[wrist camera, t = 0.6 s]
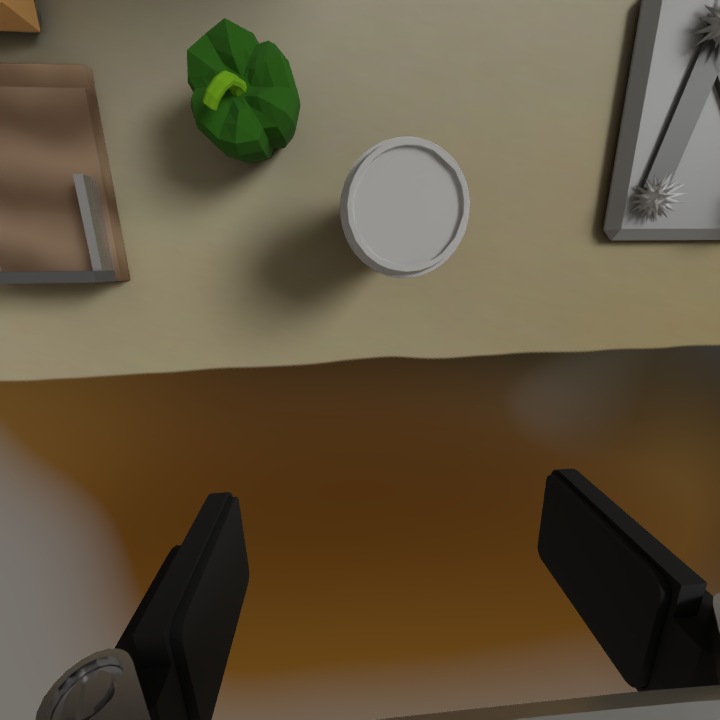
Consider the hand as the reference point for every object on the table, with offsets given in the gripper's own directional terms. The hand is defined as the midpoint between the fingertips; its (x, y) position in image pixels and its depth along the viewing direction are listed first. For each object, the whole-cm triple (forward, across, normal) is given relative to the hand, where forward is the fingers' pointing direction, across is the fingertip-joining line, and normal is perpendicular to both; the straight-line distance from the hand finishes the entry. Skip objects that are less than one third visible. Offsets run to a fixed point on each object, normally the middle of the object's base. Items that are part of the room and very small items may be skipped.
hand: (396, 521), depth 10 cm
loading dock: (+29, +28, -16) cm, 43 cm away
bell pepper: (+29, +8, -20) cm, 37 cm away
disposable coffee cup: (+29, -4, -11) cm, 32 cm away
